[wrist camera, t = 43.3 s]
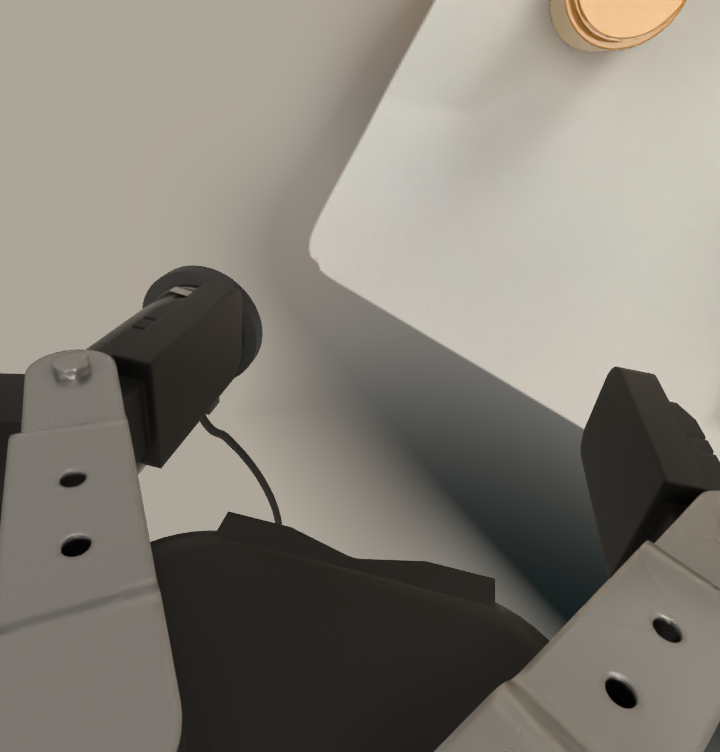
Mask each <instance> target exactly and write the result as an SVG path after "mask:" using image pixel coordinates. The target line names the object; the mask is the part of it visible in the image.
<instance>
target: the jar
mask: <svg viewBox="0 0 720 752" xmlns="http://www.w3.org/2000/svg"><path fill="white" fill-rule="evenodd" d="M686 1H687V0H550V16H551V21H552V24H553V27H554V29H555V31H556V33H557V34H558V36H559V37H560V38H561V39H562V40H563V41H564V42H565V43H566V44H567V45H569V46H570V47H572V48H574V49H577V50H580V51H584V52H598V51H610V50H623V49H627V48H632V47H635V46H637V45H640V44H642V43H644V42H646V41H648V40H650V39H651V38H653V37H655V36H656V35H657V34H659V33H660V32H661V31H662V30H664V29H665V28H666V27H667V26H668V25H669V24H670V23H671V22H672V21H673V19H674V18H675V17H676V16H677V15H678V13H679V12H680V10H681V9H682V7H683V6H684V4H685V2H686Z"/></svg>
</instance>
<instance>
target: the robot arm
mask: <svg viewBox="0 0 720 752" xmlns="http://www.w3.org/2000/svg"><path fill="white" fill-rule="evenodd" d="M243 344H244V335H243V329H242V296H241V293H240V291H239V290H238V289H234V288H229V287H224V286H219V285H214V284H209V283H204V284H202V285H201V286H196V285H179V286H175V287H173V288H170V289H169V290H167V291H166V292H164V293H163V294H161V295H160V296H159V297H158V298H157V299H156V300H155V301H154V302H152V303H151V304H149V305H148V306H146V307H145V308H143V309H142V310H141V311H139V312H138V313H136V314H135V315H134V316H132V317H131V318H129V319H128V320H127V321H125V322H124V323H122V324H121V325H120V326H118V327H117V328H115V329H114V330H113V331H111V332H110V333H108V334H107V335H106V336H104V337H103V338H101V339H100V340H99V341H97V342H96V343H95V344H93V345H92V346H90V347H89V348H87V349H86V350H79V349H78V350H67V351H61V352H56V353H53V354H50V355H47V356H45V357H42V358H40V359H38V360H37V361H35V362H34V363H32V364H31V365H30V366H29V367H28V369H27V370H26V373H25V374H0V752H704V750H705V748H706V746H707V744H708V742H709V740H710V738H711V736H712V735H713V733H714V731H715V729H716V727H717V725H718V723H719V722H720V462H719V460H718V458H717V457H716V455H713V452H714V451H713V450H712V448H711V446H710V444H709V442H708V441H707V440H705V435H704V434H703V432H702V430H701V428H700V427H699V425H698V423H697V421H696V420H695V419H694V418H693V417H692V416H691V415H689V414H688V413H687V412H686V411H685V410H684V409H683V408H682V407H680V406H679V405H678V404H677V403H674V402H669V400H668V398H667V396H666V394H665V392H664V390H663V389H662V387H661V385H660V383H659V381H658V379H657V377H656V376H655V375H654V374H650V373H645V372H640V371H635V370H630V369H625V368H620V367H614V368H612V369H611V371H610V372H609V374H608V375H607V377H606V380H605V382H604V384H603V387H602V389H601V391H600V394H599V396H598V398H597V401H596V403H595V405H594V408H593V410H592V412H591V415H590V417H589V420H588V422H587V424H586V427H585V429H584V433H583V436H582V441H581V459H582V463H583V467H584V472H585V476H586V480H587V485H588V489H589V494H590V498H591V503H592V507H593V512H594V516H595V520H596V524H597V529H598V534H599V538H600V542H601V547H602V551H603V555H604V560H605V565H606V569H607V573H608V578H609V580H608V581H607V582H606V583H605V584H604V585H603V586H602V587H601V588H600V589H599V590H598V591H597V592H596V594H595V595H594V596H593V597H592V598H591V599H590V600H589V601H588V602H587V603H586V604H585V605H584V606H583V607H582V608H581V609H580V610H579V611H578V612H577V613H576V614H575V615H574V617H572V619H571V620H570V621H569V622H568V623H567V624H566V625H565V626H564V627H563V628H562V629H561V630H560V631H559V632H558V633H557V634H556V635H555V636H554V637H553V638H552V639H551V640H550V641H549V640H548V639H547V638H546V637H545V636H543V635H542V634H541V633H540V632H539V631H538V630H537V629H536V628H535V627H533V626H532V625H531V624H529V623H528V622H526V621H525V620H524V619H523V618H521V617H520V616H518V615H517V614H515V613H513V612H512V611H510V610H509V609H507V608H505V607H504V606H502V605H500V604H498V603H496V602H495V579H494V578H490V577H486V576H481V575H478V574H474V573H470V572H466V571H462V570H458V569H454V568H450V567H446V566H442V565H438V564H434V563H430V562H425V561H399V560H373V559H356V558H352V557H350V556H347V555H345V554H343V553H341V552H339V551H337V550H335V549H333V548H331V547H329V546H327V545H325V544H323V543H321V542H319V541H317V540H315V539H313V538H311V537H309V536H307V535H305V534H303V533H301V532H299V531H297V530H295V529H293V528H291V527H288V526H284V525H282V520H281V515H280V511H279V508H278V505H277V502H276V499H275V497H274V495H273V493H272V491H271V488H270V487H269V485H268V483H267V481H266V480H265V478H264V476H263V474H262V473H261V471H260V470H259V469H258V467H257V466H256V464H255V463H254V462H253V461H252V459H251V458H250V457H249V455H248V454H247V453H246V452H245V451H244V449H243V448H242V447H241V446H240V445H239V444H238V443H237V442H236V441H235V440H234V439H233V438H232V437H231V436H230V435H229V434H228V433H226V432H224V431H222V430H219V429H217V428H216V427H214V426H213V425H212V424H211V423H210V421H209V420H208V419H207V417H206V415H205V414H208V415H209V414H210V413H211V412H212V411H213V409H214V408H215V407H216V406H217V404H218V403H219V396H220V395H221V394H222V392H223V391H224V390H225V389H226V388H227V386H228V385H229V384H230V383H231V381H232V380H233V379H234V377H235V376H236V374H237V371H238V369H239V365H240V361H241V355H242V349H243ZM199 421H200V422H201V424H202V425H203V427H204V428H205V429H206V430H207V431H208V432H209V433H210V434H211V435H214V436H216V437H219V438H221V439H223V440H224V441H225V442H226V443H227V444H228V445H229V446H230V447H231V448H232V449H233V450H234V451H235V452H236V453H237V454H238V455H239V456H240V458H241V459H242V460H243V461H244V462H245V464H246V465H247V466H248V467H249V469H250V470H251V471H252V473H253V474H254V476H255V477H256V479H257V480H258V482H259V484H260V486H261V487H262V489H263V491H264V493H265V495H266V497H267V499H268V501H269V504H270V506H271V509H272V512H273V516H274V520H275V523H272V522H268V521H263V520H260V519H255V518H252V517H248V516H244V515H240V514H236V513H232V512H228V513H227V515H226V517H225V518H224V520H223V522H222V523H221V525H220V527H219V528H218V530H217V531H197V532H188V533H182V534H176V535H172V536H168V537H164V538H161V539H158V540H155V541H152V542H150V540H149V534H148V528H147V523H146V517H145V512H144V506H143V501H142V495H141V490H140V484H139V479H138V474H139V473H140V472H141V471H142V469H143V468H144V467H145V466H146V465H150V466H154V467H158V468H162V466H163V465H164V464H165V463H166V462H167V460H168V459H169V458H170V457H171V455H172V454H173V453H174V452H175V450H176V449H177V448H178V447H179V446H180V444H181V443H182V442H183V441H184V439H185V438H186V437H187V436H188V434H189V433H190V432H191V431H192V430H193V428H194V427H195V426H196V425H197V423H198V422H199Z"/></svg>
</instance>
